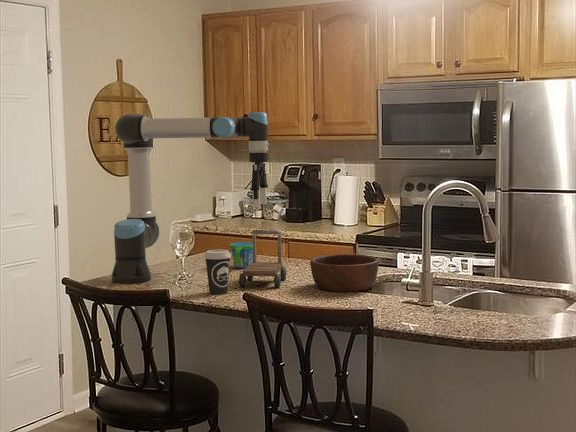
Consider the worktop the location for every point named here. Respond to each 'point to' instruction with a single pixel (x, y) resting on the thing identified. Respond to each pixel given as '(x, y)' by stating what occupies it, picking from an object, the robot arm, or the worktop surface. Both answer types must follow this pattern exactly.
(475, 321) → the worktop surface
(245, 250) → the snack cup
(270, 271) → the trolley
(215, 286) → the coffee cup
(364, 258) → the wooden bowl
